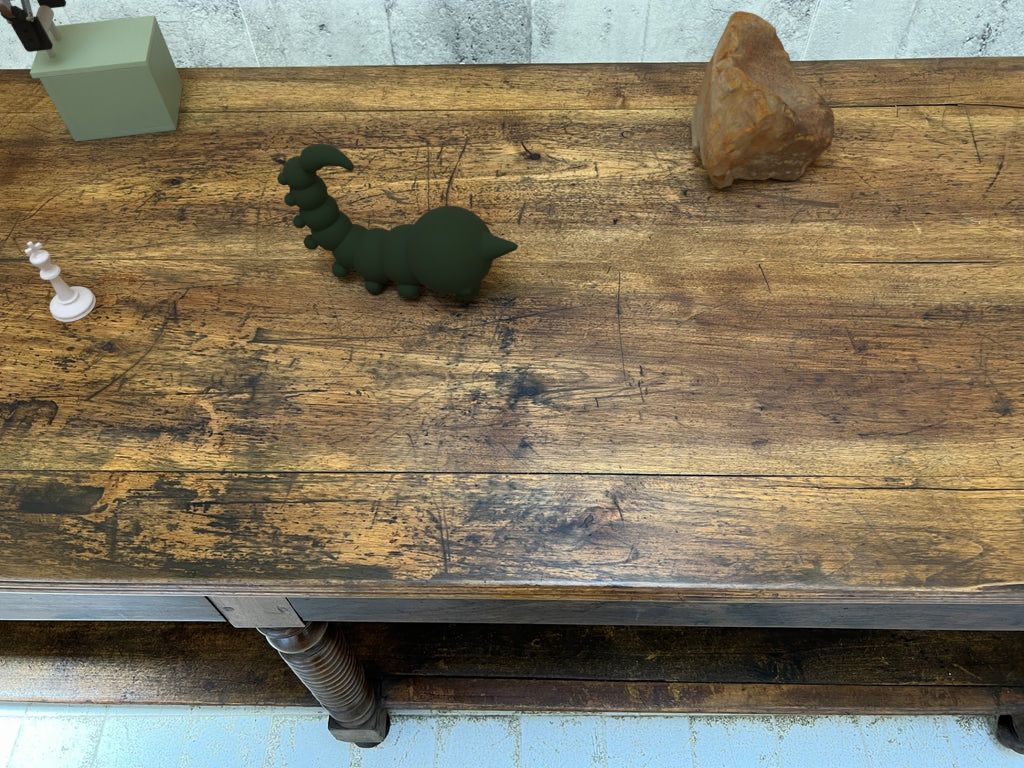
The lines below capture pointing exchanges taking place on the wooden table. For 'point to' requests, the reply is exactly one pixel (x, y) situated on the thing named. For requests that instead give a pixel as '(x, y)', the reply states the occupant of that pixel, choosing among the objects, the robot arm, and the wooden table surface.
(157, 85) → the bin
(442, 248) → the toy figurine
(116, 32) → the bin lid
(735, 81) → the rough brown rock
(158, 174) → the wooden table surface
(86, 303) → the chess piece
